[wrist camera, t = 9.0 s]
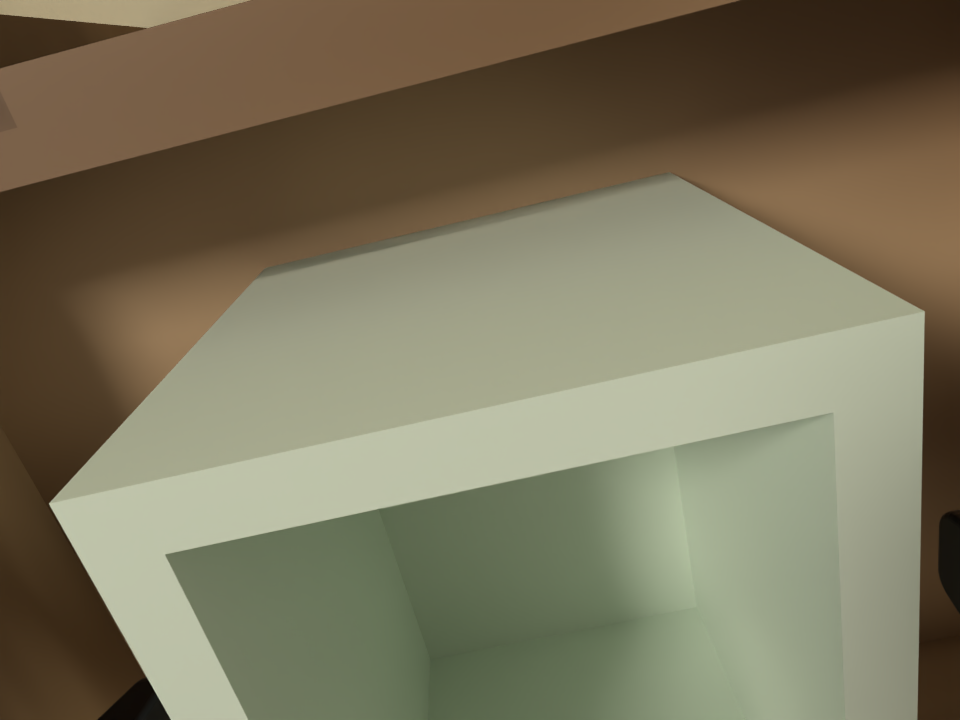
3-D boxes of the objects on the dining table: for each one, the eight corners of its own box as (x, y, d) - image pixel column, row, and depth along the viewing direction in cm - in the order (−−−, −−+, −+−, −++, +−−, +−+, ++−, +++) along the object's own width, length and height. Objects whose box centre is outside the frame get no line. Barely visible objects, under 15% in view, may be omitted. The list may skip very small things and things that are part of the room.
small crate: (722, 602, 13) (913, 995, 8) (408, 664, 14) (374, 1081, 8) (669, 172, 10) (924, 311, 5) (265, 267, 10) (48, 503, 5)
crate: (1017, 625, 15) (1205, 816, 11) (192, 786, 16) (112, 1006, 12) (1087, -227, 9) (1517, -423, 5) (-200, 121, 10) (-567, 158, 7)
